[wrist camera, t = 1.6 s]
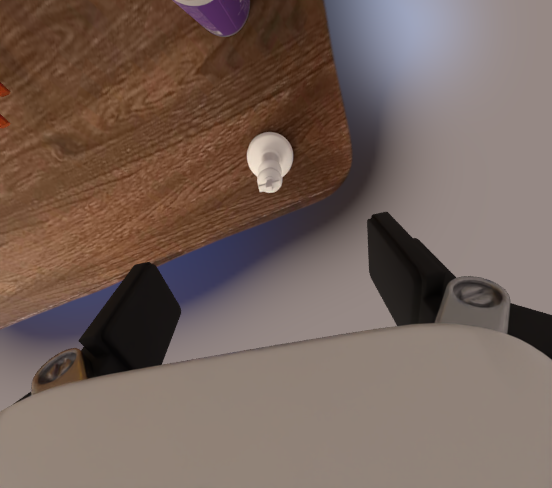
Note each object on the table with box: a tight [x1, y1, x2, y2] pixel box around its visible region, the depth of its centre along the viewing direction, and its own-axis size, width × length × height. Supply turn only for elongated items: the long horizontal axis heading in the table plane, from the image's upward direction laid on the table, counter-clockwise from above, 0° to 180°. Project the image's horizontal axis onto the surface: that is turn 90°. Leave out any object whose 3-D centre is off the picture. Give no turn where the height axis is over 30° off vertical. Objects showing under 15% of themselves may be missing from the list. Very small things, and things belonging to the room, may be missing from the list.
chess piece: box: [247, 132, 293, 193], centre depth 23 cm, size 5×5×10 cm
